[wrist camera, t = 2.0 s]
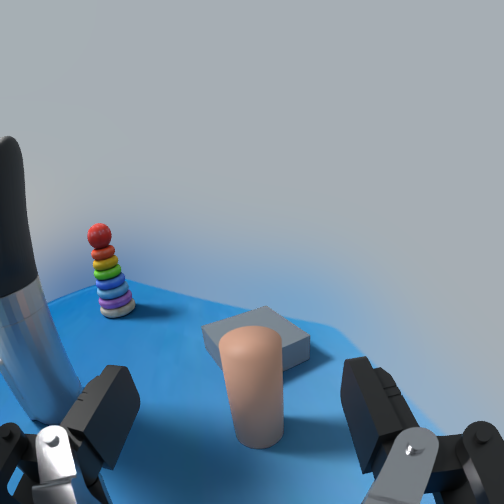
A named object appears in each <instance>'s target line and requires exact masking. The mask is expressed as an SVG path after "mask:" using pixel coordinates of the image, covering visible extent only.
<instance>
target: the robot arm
mask: <svg viewBox="0 0 504 504" xmlns="http://www.w3.org/2000/svg"><path fill="white" fill-rule="evenodd" d="M25 197H26V196H25V180H24V168H23V159H22V153H21V150H20V147H19V145H18V142H17V141H16V140H15V139H14V138H13V137H11V136H5V137H1V138H0V372H1V373H2V375H3V377H4V379H5V381H6V382H7V384H8V386H9V387H10V389H11V391H12V392H13V394H14V396H15V397H16V399H17V400H18V402H19V403H20V405H21V406H22V408H23V409H24V411H25V412H26V414H27V415H28V417H29V418H30V420H38V421H40V422H42V423H44V424H48V425H52V426H48V427H46V428H44V429H42V430H41V431H40V432H39V433H38V435H36V434H24V433H23V431H22V430H21V429H20V428H19V426H18V425H17V424H15V423H6V424H3V425H2V426H0V504H113V503H112V501H111V498H110V496H109V493H108V491H107V488H106V486H105V483H104V480H103V477H102V475H101V474H100V473H99V472H100V470H101V468H102V467H103V468H106V469H110V470H113V469H114V466H115V464H116V462H117V459H118V457H119V454H120V452H121V450H122V447H123V445H124V443H125V440H126V438H127V436H128V433H129V431H130V429H131V426H132V424H133V422H134V420H135V417H136V415H137V413H138V410H139V408H140V397H139V393H138V391H137V389H136V386H135V384H134V382H133V379H132V377H131V374H130V372H129V370H128V368H127V367H125V366H115V365H107V366H106V367H105V369H104V370H103V371H102V373H101V374H100V376H96V377H95V378H94V379H93V380H91V381H90V382H89V383H88V384H87V385H86V386H85V388H84V389H83V388H82V386H81V383H80V381H79V379H78V377H77V376H76V374H75V372H74V369H73V367H72V365H71V363H70V361H69V358H68V356H67V354H66V352H65V349H64V347H63V345H62V342H61V340H60V337H59V335H58V332H57V330H56V327H55V325H54V322H53V319H52V316H51V314H50V311H49V308H48V305H47V302H46V299H45V296H44V292H43V289H42V286H41V282H40V279H39V275H38V272H37V268H36V264H35V260H34V254H33V248H32V242H31V237H30V232H29V226H28V218H27V211H26V198H25ZM340 395H341V403H342V407H343V410H344V413H345V417H346V420H347V423H348V426H349V430H350V433H351V436H352V440H353V443H354V446H355V450H356V453H357V457H358V460H359V463H360V467H361V470H362V474H366V473H370V472H373V475H374V478H375V480H374V482H373V484H372V485H371V487H370V489H369V491H368V493H367V494H366V496H365V498H364V500H363V501H362V503H361V504H420V501H421V499H422V496H423V494H426V493H433V496H434V499H435V502H436V504H504V440H503V439H502V437H501V436H500V434H499V432H498V430H497V429H496V427H495V426H493V425H492V424H490V423H488V422H485V421H477V422H474V423H472V424H470V425H469V426H468V427H467V428H466V429H465V431H464V432H463V434H458V435H449V436H436V435H435V434H434V433H433V432H432V431H430V430H428V429H426V428H421V427H420V426H419V425H418V423H417V421H416V419H415V418H414V416H413V414H412V412H411V410H410V408H409V406H408V405H407V403H406V401H405V399H404V397H403V396H402V395H401V392H400V390H399V388H398V387H397V385H396V383H395V381H394V380H393V378H392V376H391V375H390V374H389V373H387V372H386V371H385V370H383V369H382V368H381V367H380V368H375V369H373V368H372V366H371V364H370V362H369V360H368V358H367V357H366V356H364V357H358V358H352V359H346V360H345V362H344V368H343V376H342V383H341V392H340ZM56 424H60V425H59V426H56ZM16 467H18V468H19V469H20V470H21V471H22V472H23V473H24V474H23V476H22V478H21V480H20V482H19V484H18V486H17V488H16V490H15V492H14V494H13V496H11V495H10V494H9V492H8V490H7V484H8V482H9V480H10V478H11V476H12V474H13V472H14V470H15V468H16Z"/></svg>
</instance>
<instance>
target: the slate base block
mask: <svg viewBox="0 0 504 504" xmlns="http://www.w3.org/2000/svg"><path fill="white" fill-rule="evenodd" d="M245 326H263V327H267V328H270V329H273V330H275V331H276V332H277V333H278V334H279V335H280V336H281V339H282V367H283V371H285V370H287V369H290V368H292V367H294V366H296V365H298V364H300V363H302V362H304V361H306V360H308V359H310V335H309V334H307V333H306V332H304V331H303V330H301V329H300V328H298V327H297V326H296V325H294V324H293V323H291V322H290V321H288V320H287V319H285V318H284V317H282V316H281V315H279V314H278V313H276V312H275V311H273V310H272V309H270V308H269V307H268V306H263V307H260V308H257V309H254V310H251V311H248V312H245V313H242V314H239V315H236V316H233V317H230V318H226V319H223V320H220V321H217V322H213V323H210V324H207V325H203V326H201V328H202V333H203V338H204V343H205V348H206V350H207V351H208V352H209V354H210V355H211V356H212V358H213V359H214V360H215V362H216V363H217V365H218V366H219V367H220V368H221V370H222V371H223V368H222V362H221V356H220V351H219V341H220V339H221V338H222V337H223V336H224V335H225V334H226V333H228V332H229V331H231V330H234V329H236V328H240V327H245Z"/></svg>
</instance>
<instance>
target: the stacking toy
mask: <svg viewBox="0 0 504 504" xmlns="http://www.w3.org/2000/svg"><path fill="white" fill-rule="evenodd" d="M88 241H89V243H90V245H91V246H92V247H94V248H95V249H94V250H93V251H92V253H91V255H92V257H93V259H95V260H94V262H93V267H94V269H95V271H94V276H95V278H97V280H96V286H97V287H98V289H97V294H98V296H99V297H100V298H99V304H100V305H101V313H102V314H103V315H104V316H106V317H110V318H115V317H120V316H124V315H126V314H128V313H130V312H131V311H132V310H133V309H134V307H135V301H134V299H133V298H132V293H131V291H130V290H128V283H127V282H126V281H125V276H124V274H123V273H122V272H121V267H120V265H119V264H117V263H118V258H117V256H115V255H114V252H115V249H114V247H113V246H112V245H109V243H110V241H111V231H110V229H109V228H108V226H106V225H105V224H101V223H98V224H95V225H93V226H92V227H91V228H90V229H89V231H88Z"/></svg>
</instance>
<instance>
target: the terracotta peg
mask: <svg viewBox="0 0 504 504" xmlns="http://www.w3.org/2000/svg"><path fill="white" fill-rule="evenodd" d="M219 351H220V356H221V362H222V368H223V373H224V378H225V384H226V389H227V394H228V399H229V404H230V409H231V414H232V419H233V423H234V428H235V433H236V437H237V439H238V440H239V441H240V443H242V444H243V445H245V446H247V447H249V448H254V449H263V448H268V447H270V446H273V445H274V444H276V443H277V442H278V441H279V440H280V439H281V438H282V436H283V432H284V417H283V367H282V339H281V336H280V335H279V334H278V333H277V332H276V331H275V330H273V329H270V328H267V327H263V326H245V327H240V328H236V329H234V330H231V331H229V332H228V333H226V334H225V335H224V336H223V337H222V338H221V339H220V341H219Z"/></svg>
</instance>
